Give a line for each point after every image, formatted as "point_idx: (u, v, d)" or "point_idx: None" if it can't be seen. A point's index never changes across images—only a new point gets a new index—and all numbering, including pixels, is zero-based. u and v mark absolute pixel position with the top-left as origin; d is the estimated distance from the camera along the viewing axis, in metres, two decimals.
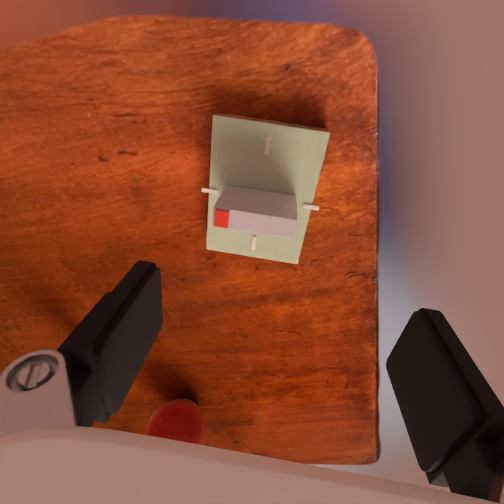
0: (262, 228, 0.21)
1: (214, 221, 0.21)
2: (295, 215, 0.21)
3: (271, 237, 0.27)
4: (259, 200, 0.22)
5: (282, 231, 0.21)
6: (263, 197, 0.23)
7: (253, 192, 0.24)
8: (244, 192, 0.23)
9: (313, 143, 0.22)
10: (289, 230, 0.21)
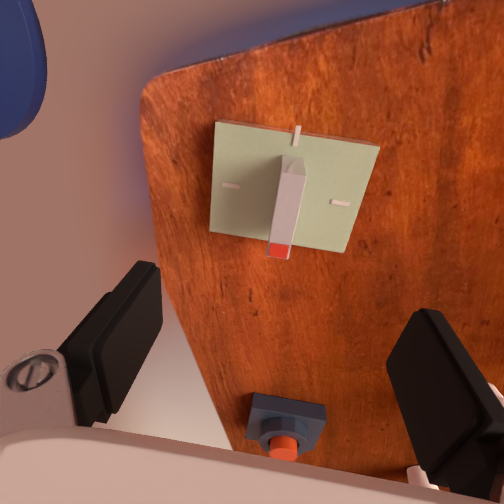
0: (291, 211, 0.18)
1: (281, 257, 0.20)
2: (280, 171, 0.18)
3: (335, 181, 0.22)
4: (274, 203, 0.21)
5: (295, 189, 0.18)
6: (275, 196, 0.21)
7: None
8: None
9: (226, 138, 0.21)
10: (294, 181, 0.17)
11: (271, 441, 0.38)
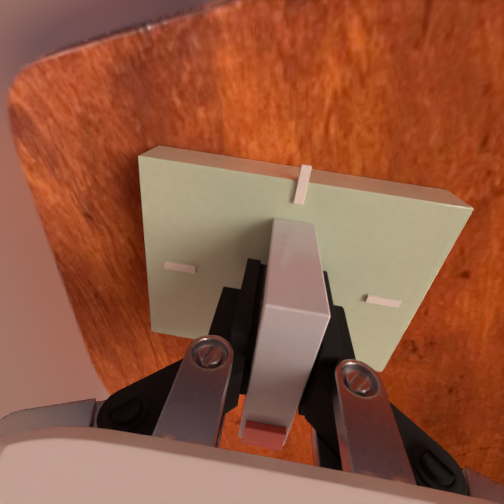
0: (290, 376, 0.08)
1: (270, 446, 0.10)
2: (264, 291, 0.07)
3: (375, 266, 0.12)
4: None
5: (301, 339, 0.07)
6: None
7: None
8: None
9: (163, 187, 0.11)
10: (298, 324, 0.07)
11: None
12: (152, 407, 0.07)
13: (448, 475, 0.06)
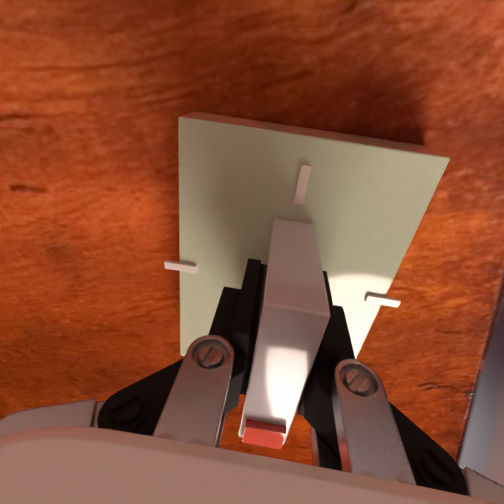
0: (290, 375, 0.08)
1: (270, 445, 0.10)
2: (264, 290, 0.07)
3: None
4: None
5: (301, 338, 0.07)
6: None
7: None
8: None
9: (406, 180, 0.10)
10: (298, 323, 0.07)
11: None
12: (152, 407, 0.07)
13: (448, 474, 0.06)
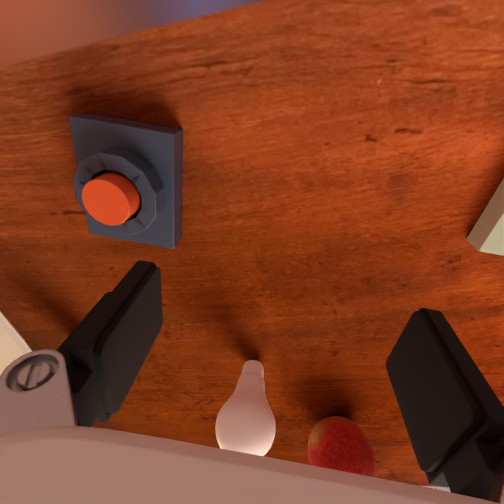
0: None
1: None
2: None
3: None
4: None
5: None
6: None
7: None
8: None
9: None
10: None
11: (118, 177, 0.21)
12: None
13: None
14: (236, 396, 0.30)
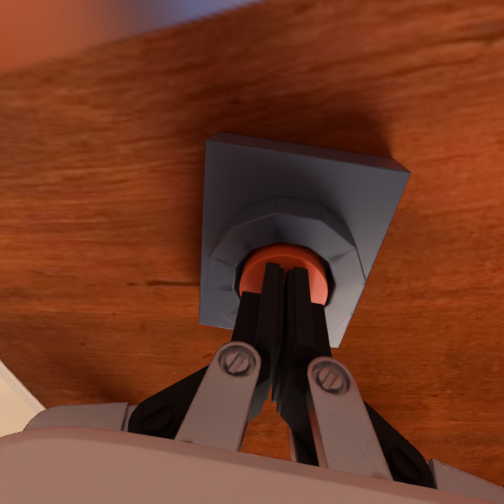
0: None
1: None
2: None
3: None
4: None
5: None
6: None
7: None
8: None
9: None
10: None
11: None
12: (182, 416, 0.06)
13: (416, 471, 0.06)
14: None
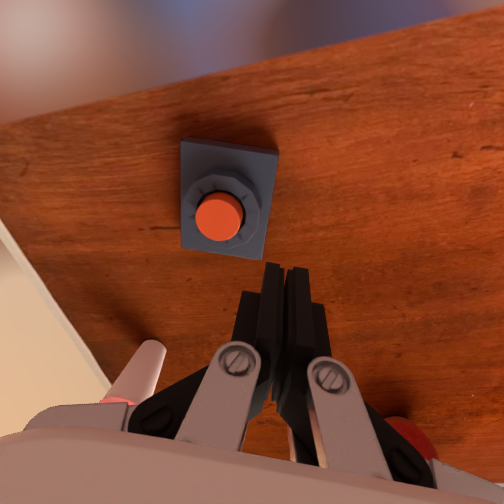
0: None
1: None
2: None
3: None
4: None
5: None
6: None
7: None
8: None
9: None
10: None
11: (228, 196, 0.23)
12: (182, 415, 0.06)
13: (415, 471, 0.06)
14: None
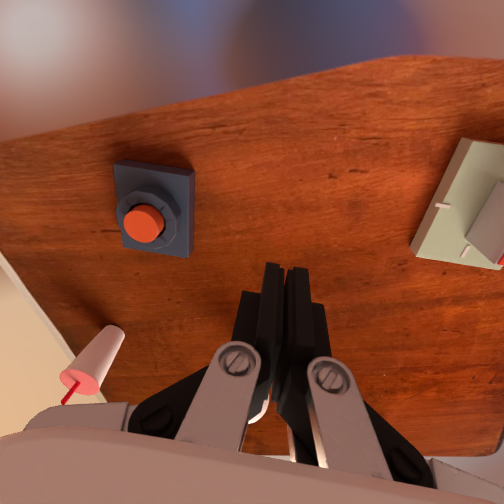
0: None
1: None
2: None
3: None
4: (496, 222, 0.26)
5: None
6: (492, 215, 0.26)
7: (482, 220, 0.27)
8: (480, 228, 0.28)
9: None
10: None
11: (149, 208, 0.29)
12: (182, 415, 0.06)
13: (415, 471, 0.06)
14: None
